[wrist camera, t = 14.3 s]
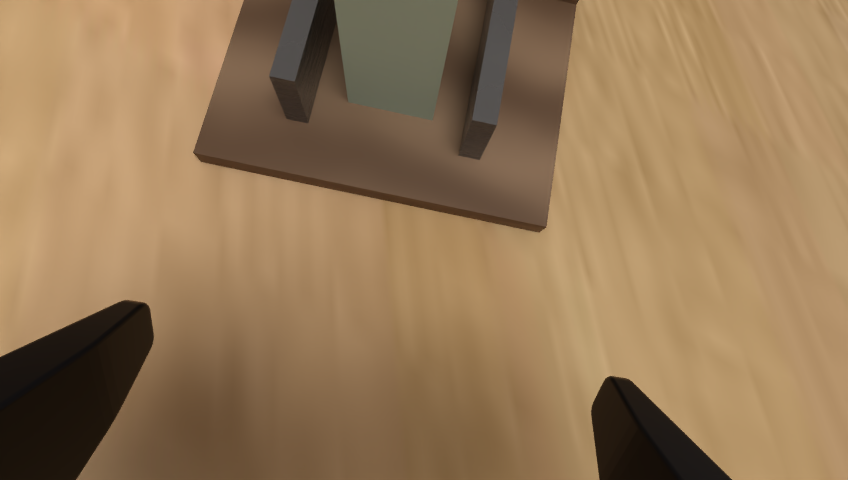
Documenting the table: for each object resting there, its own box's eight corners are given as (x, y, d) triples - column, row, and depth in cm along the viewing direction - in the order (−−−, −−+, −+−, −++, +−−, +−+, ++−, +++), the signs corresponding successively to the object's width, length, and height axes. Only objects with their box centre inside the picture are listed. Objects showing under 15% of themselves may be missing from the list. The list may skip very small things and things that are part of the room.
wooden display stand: (539, 232, 23) (605, 180, 16) (201, 161, 22) (121, 77, 15) (573, -14, 26) (640, -142, 19) (280, -81, 26) (243, -237, 19)
